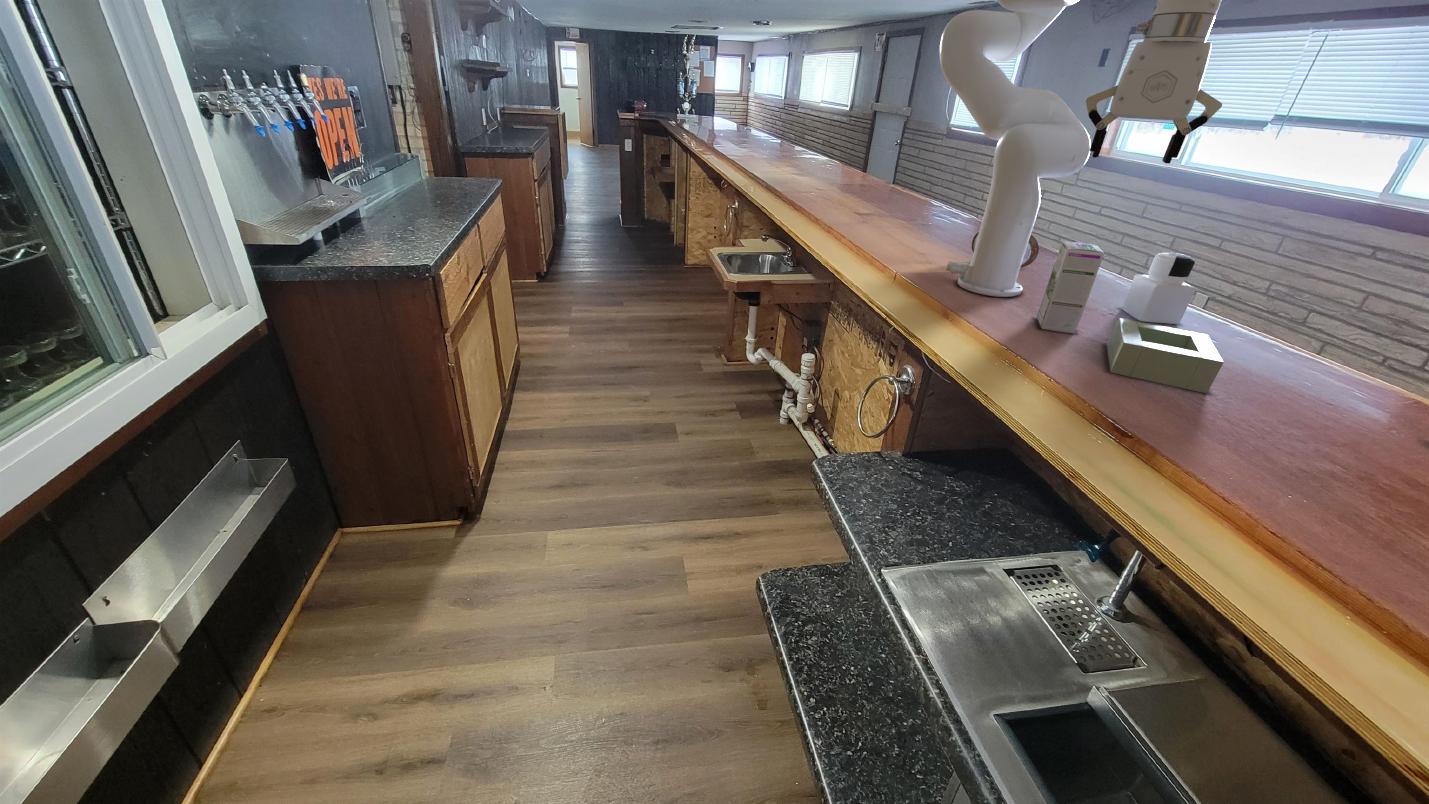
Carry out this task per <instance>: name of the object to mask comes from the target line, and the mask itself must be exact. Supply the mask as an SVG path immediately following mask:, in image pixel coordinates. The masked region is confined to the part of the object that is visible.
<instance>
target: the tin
mask: <svg viewBox="0 0 1429 804" xmlns="http://www.w3.org/2000/svg"><path fill="white" fill-rule="evenodd" d="M978 234H979V231H978V232H976V233H975V235H974V236H973V237H972V241H971V251H972V254H973V253H974V249H975V245H976V242H977V238H978ZM1039 250H1040V247H1039V242H1038V240H1037V238H1036V237H1035V236H1034V235H1033V234H1031V235H1030V239H1029V242H1028V245H1027V248H1026V251H1025V254H1024V258H1023V261H1022V264H1021V267H1020V269H1022V268H1026V267H1027V266H1030V265H1031V264H1032V263H1033V262H1034V261H1035V260H1036V259H1037V257H1038V255H1039Z"/></svg>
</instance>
